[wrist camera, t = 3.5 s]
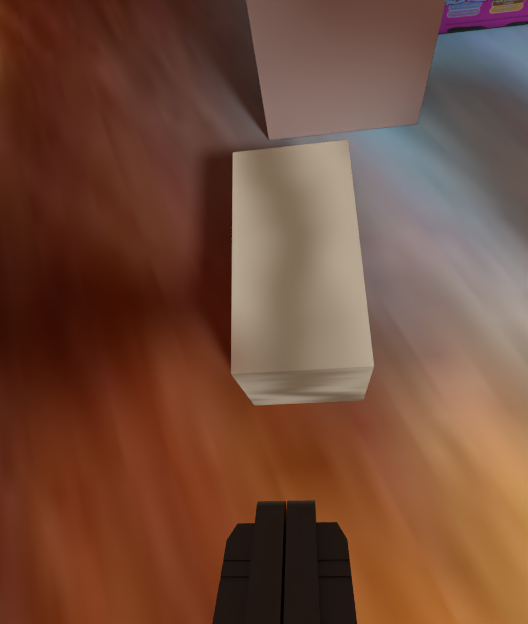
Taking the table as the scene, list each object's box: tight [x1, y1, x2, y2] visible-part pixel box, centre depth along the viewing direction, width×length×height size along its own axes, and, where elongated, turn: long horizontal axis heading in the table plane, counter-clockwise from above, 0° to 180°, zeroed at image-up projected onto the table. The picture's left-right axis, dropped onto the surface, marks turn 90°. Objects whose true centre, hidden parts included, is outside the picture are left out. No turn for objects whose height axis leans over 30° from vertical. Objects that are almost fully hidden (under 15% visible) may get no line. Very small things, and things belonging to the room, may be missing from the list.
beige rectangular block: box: [231, 140, 374, 405], centre depth 29 cm, size 7×14×8 cm, turn 1°
